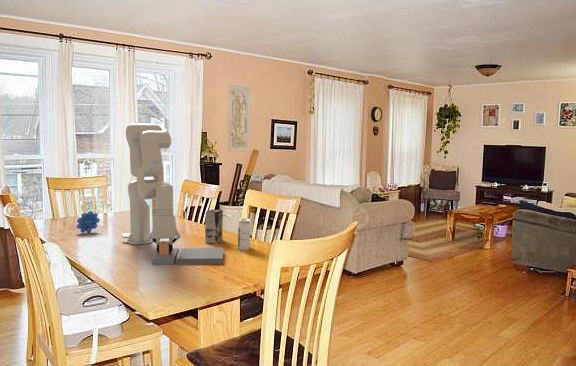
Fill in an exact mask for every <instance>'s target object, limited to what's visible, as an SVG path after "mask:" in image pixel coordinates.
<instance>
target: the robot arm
mask: <svg viewBox="0 0 576 366" xmlns="http://www.w3.org/2000/svg"><path fill="white" fill-rule="evenodd" d="M125 139H126V142H127V144H128V148H129V163H130V165H129V166H130V174H131V175H132V177H134V178H136V179H135V180H132V181H130V182H129V183H128V185H127V192H128V193H127V194H128V198H129V199H128V200H129V212H130V213H129V216H130V217H129V218H130V219H129V222H130V223H129V224H130V225H129V226H130V230H129V231H130V233H122V234H121V239H122V238H123V239H127V243H128V244H129V245H147V244H151V243H155V245H156V252H157V251H158V254H159V243H160V242H161V240H163V239H164V240H165V239H168V241H170V243H169V254H171V251H173V248H174V243H175V242H176V241H179V239H181V238H182V236H181V235H180V233H179V232H178V229H177V220H176V215H175V214H174V186H173V185H172V184H170V183H168V182H167V181H165V179H164V177H165V176H164V174H165V173H164V165H163V164H164V163H163V155H162V152H161V149H162V150H163V149H166V150H167V149H170V147H171V145H172V137H171V135H170V133H169V131H168V130H167V129H166V128H165V127H164V126H163V125H162V124H159V123H143V122H141V123H138V122H137V123H129V124H128V125H127V126H126V127H125ZM150 177H151V178H152V179H145V178H150ZM152 199H156V209H154V210H152V209H151V207H150V205H149V204H148V202H147V201H146V200H152ZM152 213H155V215H154V217H153V226H152V225H151V214H152ZM151 226H152V227H151ZM151 228H152V229H151ZM151 230H152V231H151Z"/></svg>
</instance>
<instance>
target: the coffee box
mask: <svg viewBox="0 0 576 366" xmlns="http://www.w3.org/2000/svg"><path fill="white" fill-rule="evenodd" d="M223 210H224V209H210V210H208V211H206V212H205V232H204V233H205V237H204V238H205V241H204V242H205V244H218V243H219V242H221V241H223V213H224V212H223Z"/></svg>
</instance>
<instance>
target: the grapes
mask: <svg viewBox="0 0 576 366" xmlns="http://www.w3.org/2000/svg"><path fill="white" fill-rule="evenodd" d="M98 216H99V214H98V213H97V212H94V211H92V210H89V211H87V212H83V213H81V216H80V217H78V218H77V220H76V221H77V223H78V224H77V225H76V229H78V230H79V231H80V233H85V232H86V233H91V232H92V231H93V230H95V229H97V227H98V224H99V223H100V218H99V217H98Z"/></svg>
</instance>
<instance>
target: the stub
mask: <svg viewBox="0 0 576 366" xmlns="http://www.w3.org/2000/svg"><path fill="white" fill-rule="evenodd" d="M169 243H170V241H169V240H160V243H159V254H158V251H157V250H156V252H155V254H154V255H153V257H152V259H151V263H152V264H151V265H175V259H176V256H177V254H178V251H179V249H180V248H179V247H173V251H171V254H169Z"/></svg>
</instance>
